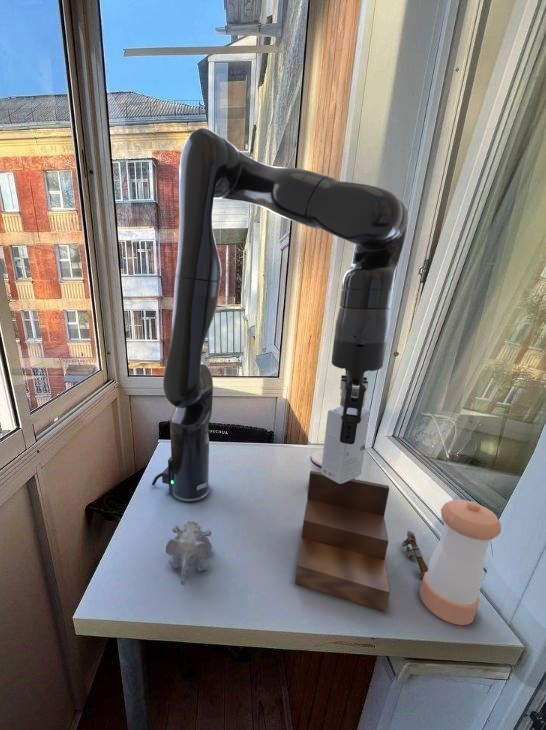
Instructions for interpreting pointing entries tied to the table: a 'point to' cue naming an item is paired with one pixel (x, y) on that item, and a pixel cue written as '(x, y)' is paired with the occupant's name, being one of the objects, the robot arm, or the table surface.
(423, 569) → the wooden post with brackets
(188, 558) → the elephant statuette
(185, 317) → the robot arm
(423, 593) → the salt shaker
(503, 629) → the table surface
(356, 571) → the shelf riser
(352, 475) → the cosmetic box
